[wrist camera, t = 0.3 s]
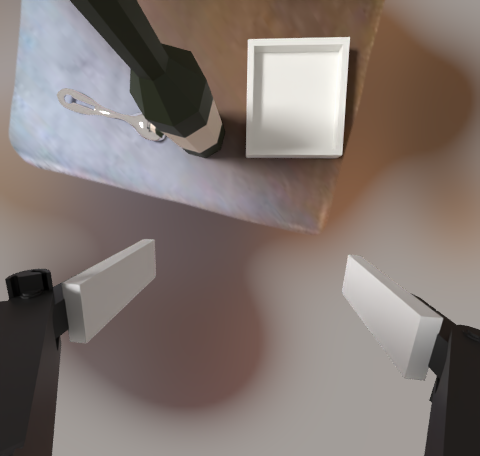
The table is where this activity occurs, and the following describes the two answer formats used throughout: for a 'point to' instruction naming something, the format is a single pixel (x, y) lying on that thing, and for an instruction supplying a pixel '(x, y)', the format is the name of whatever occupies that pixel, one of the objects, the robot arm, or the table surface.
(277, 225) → the table surface
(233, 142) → the table surface
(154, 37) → the wine bottle
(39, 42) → the table surface
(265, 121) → the serving tray
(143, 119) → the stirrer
